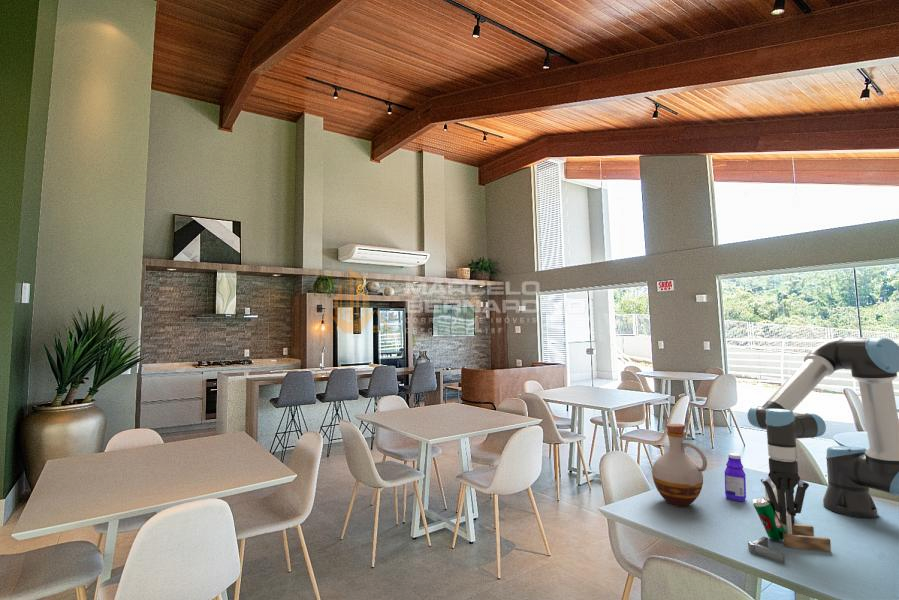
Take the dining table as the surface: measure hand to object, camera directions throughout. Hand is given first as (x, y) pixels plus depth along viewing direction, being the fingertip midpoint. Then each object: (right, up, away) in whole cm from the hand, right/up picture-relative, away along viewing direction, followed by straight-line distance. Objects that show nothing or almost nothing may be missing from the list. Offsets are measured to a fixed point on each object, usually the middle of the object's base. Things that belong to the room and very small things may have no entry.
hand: (788, 535), depth 144 cm
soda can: (-3, -1, +1) cm, 3 cm away
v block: (-13, -1, -8) cm, 15 cm away
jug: (-18, -4, +31) cm, 36 cm away
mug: (+11, -4, +19) cm, 23 cm away
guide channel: (+3, -2, 0) cm, 4 cm away
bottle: (+7, -5, +37) cm, 38 cm away
